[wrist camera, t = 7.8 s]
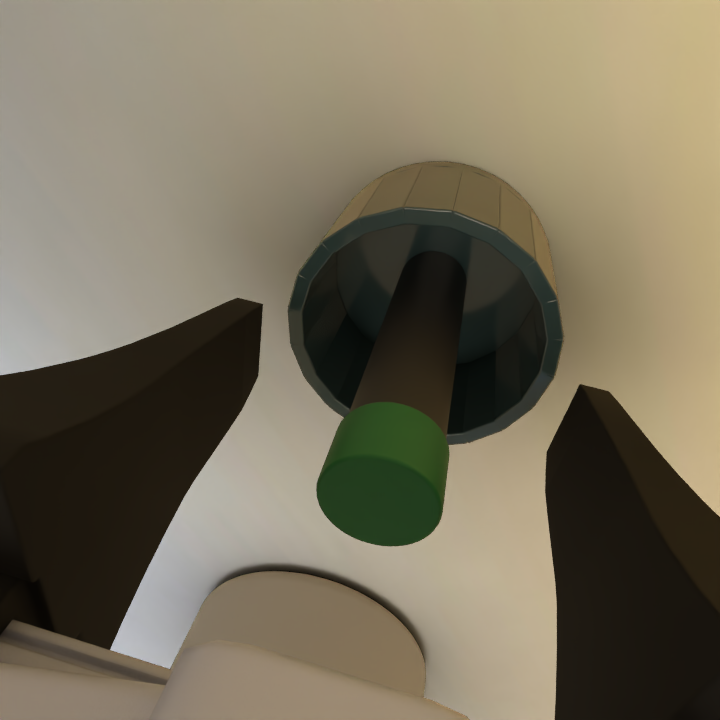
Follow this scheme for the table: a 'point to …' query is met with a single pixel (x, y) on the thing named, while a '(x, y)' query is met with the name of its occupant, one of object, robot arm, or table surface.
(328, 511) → the marker
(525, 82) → the table surface
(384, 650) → the cylinder vase
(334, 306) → the tumbler
